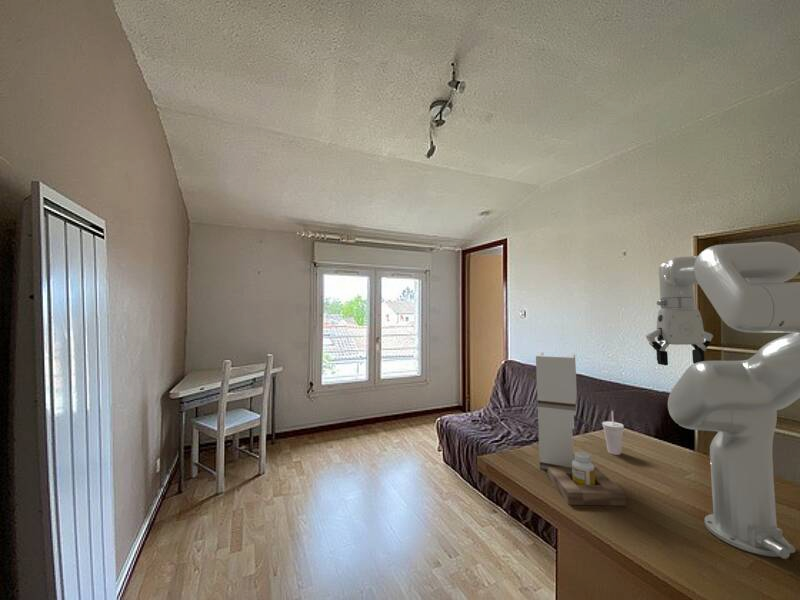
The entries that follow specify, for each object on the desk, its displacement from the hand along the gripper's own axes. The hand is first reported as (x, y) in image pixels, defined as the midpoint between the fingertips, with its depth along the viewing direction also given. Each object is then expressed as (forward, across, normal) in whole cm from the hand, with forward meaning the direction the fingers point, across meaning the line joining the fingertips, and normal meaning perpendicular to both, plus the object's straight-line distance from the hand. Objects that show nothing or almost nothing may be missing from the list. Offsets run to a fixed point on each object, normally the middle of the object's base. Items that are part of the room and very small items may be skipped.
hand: (680, 364), depth 94 cm
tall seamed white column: (+34, -30, +11) cm, 46 cm away
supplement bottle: (+34, -30, -4) cm, 45 cm away
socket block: (+33, -30, -4) cm, 45 cm away
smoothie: (+34, -8, +21) cm, 40 cm away
